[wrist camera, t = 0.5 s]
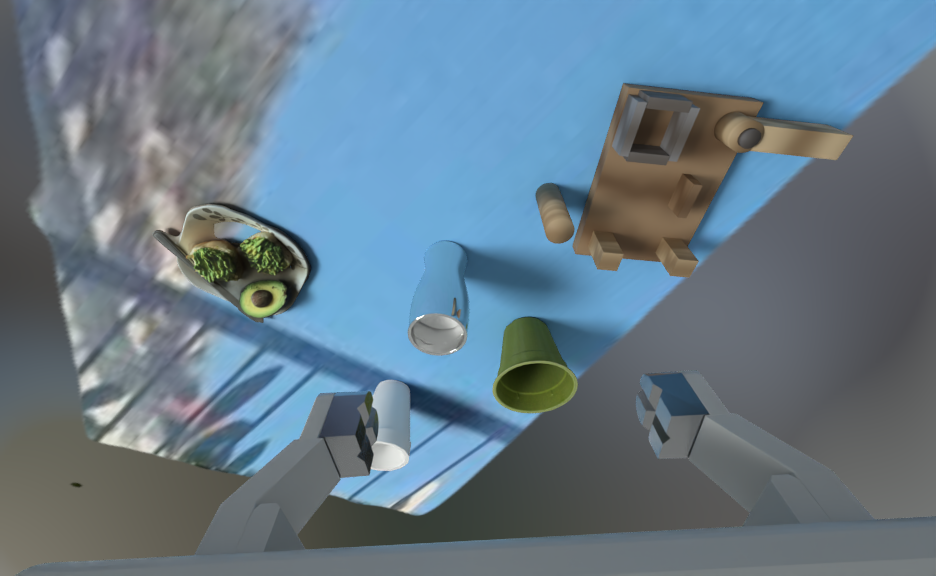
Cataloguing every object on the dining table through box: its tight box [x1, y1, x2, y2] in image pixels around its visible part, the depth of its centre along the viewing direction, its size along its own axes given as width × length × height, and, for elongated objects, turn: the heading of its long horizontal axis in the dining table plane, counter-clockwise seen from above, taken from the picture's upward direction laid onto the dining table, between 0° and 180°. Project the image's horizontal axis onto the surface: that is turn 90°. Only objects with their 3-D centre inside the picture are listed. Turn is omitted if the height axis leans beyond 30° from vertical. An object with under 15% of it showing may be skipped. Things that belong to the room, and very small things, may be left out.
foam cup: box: [371, 380, 411, 471], centre depth 68 cm, size 10×9×13 cm
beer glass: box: [408, 241, 470, 355], centre depth 49 cm, size 7×7×15 cm
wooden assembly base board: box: [573, 83, 763, 277], centre depth 44 cm, size 20×14×7 cm
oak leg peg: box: [536, 183, 574, 243], centre depth 45 cm, size 3×3×9 cm
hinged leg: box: [714, 112, 853, 160], centre depth 39 cm, size 12×3×4 cm, turn 84°
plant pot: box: [493, 317, 578, 413], centre depth 59 cm, size 12×12×11 cm
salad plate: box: [153, 204, 311, 323], centre depth 54 cm, size 19×18×5 cm
